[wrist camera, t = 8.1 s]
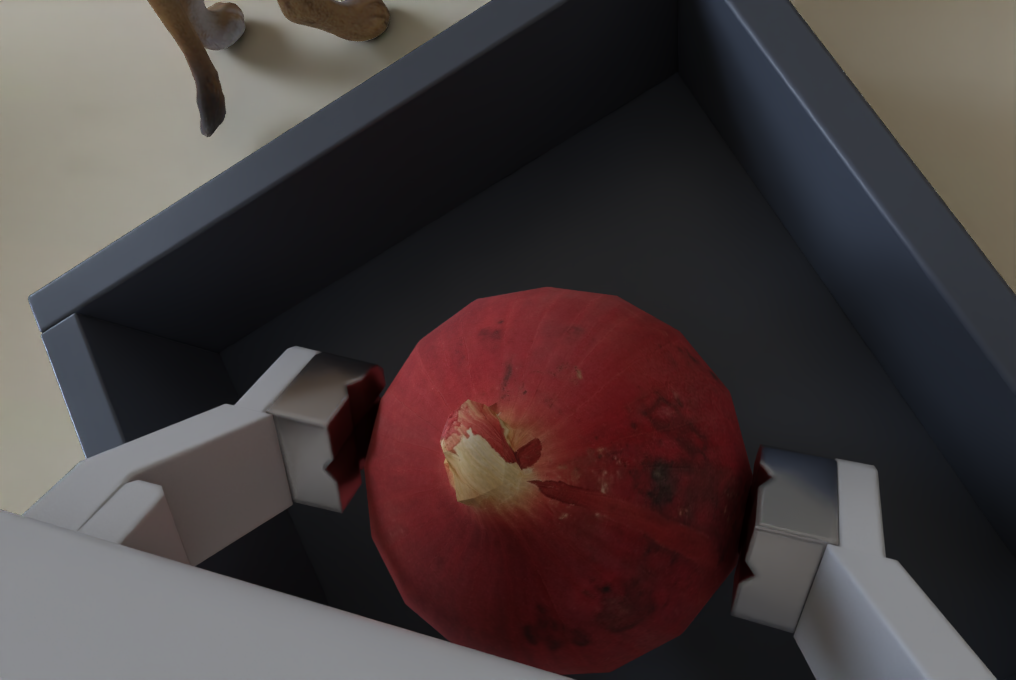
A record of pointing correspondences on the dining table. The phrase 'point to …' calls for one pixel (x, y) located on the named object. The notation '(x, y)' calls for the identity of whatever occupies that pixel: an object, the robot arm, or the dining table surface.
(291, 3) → the lion figurine
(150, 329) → the tub
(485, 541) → the red pomegranate
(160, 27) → the dining table surface
